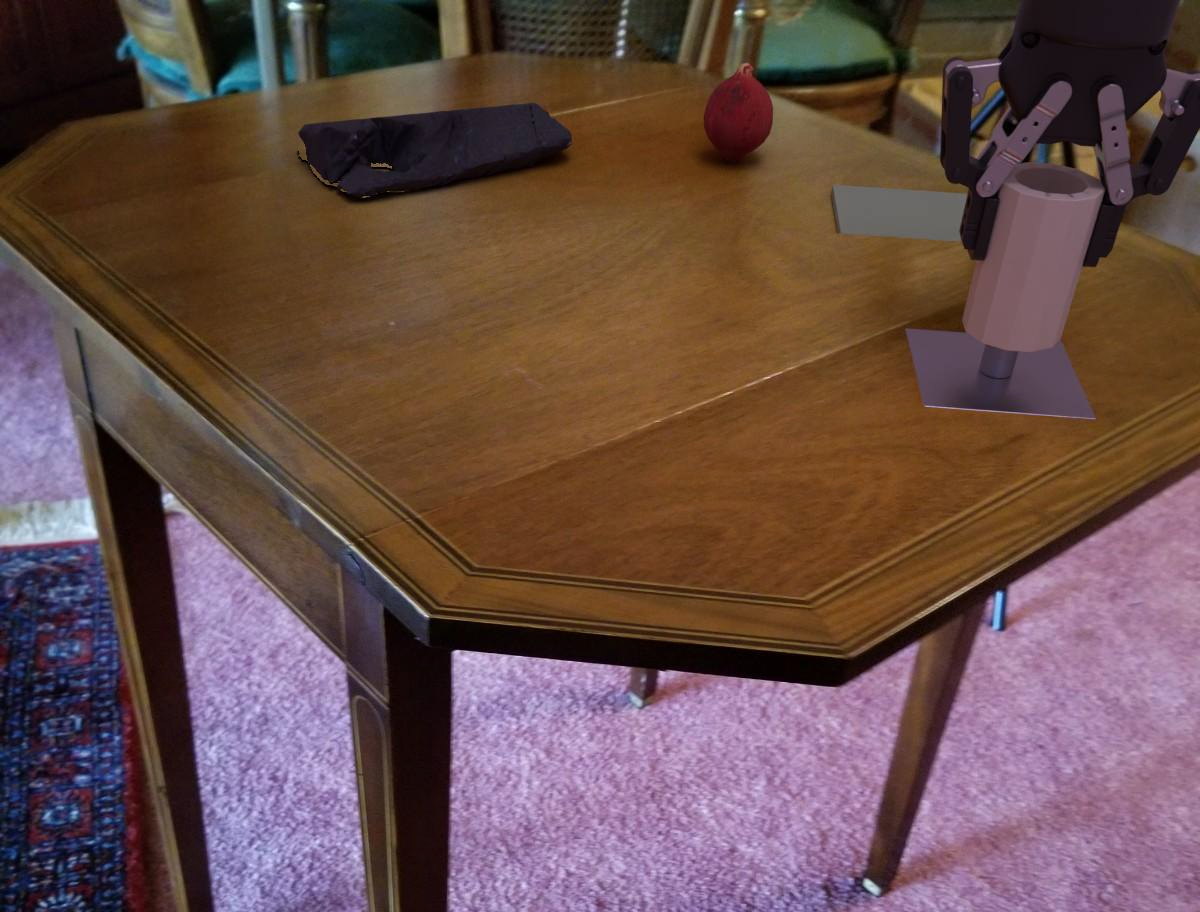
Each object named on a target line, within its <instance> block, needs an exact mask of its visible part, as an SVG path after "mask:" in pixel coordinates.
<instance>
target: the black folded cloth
mask: <svg viewBox="0 0 1200 912" xmlns="http://www.w3.org/2000/svg"><path fill="white" fill-rule="evenodd" d="M297 133H298V136H299V138H300V139H301V140H302V142H304V144H305V147H306V155H307V160H308V162H309V163H310V164H311V165H312V166H313V167H314V168H315V169H316V171H317V172H318V173H319V174H320V175H321V177H322V178H323V179H324V180H328V181H329V183H330V184H333V183H339V184H338V185H337V189H338V190H340V189H343V190H344V191H347V193H346V194H348V195H350V196H353V197H355V196H356V197H355V198H359V197H363V196H373V197H374V195H375V194H376V193H381V192H387V191H405V192H407V191H419V190H421V189H424V187H425V188H432V187H441V186H442V187H443V186H445V185H447V184H449V183H451V182H453V181H457V180H458V181H459V180H465V179H475V178H480V177H483V175H485V176H492V175H495V174H496V173H503V172H505V171H512V170H518V169H521V168H523V167H528V168H529V167H531V168H532V167H534V166H535V163H537V162H540V160H542V159H547V158H549V157H552V156H553V155H554V154H556V153H559V152H563V151H565V150H567V149H569V148H570V147H571V146H572V144H573V143H572V142H573V141H572V140H573V135H572V133H571V131H570V130H569V129H568V128H567V127H566V126H564V125H563V124H562V123H561V122H559V121H558V120H557V119H556V118H555V117H552V116H551V115H550V114H549V112H548V111H547V110H545V108H543V107H542V106H540V104H537V102H528V103H518V104H505V105H497V106H483V107H474V108H464V109H460V108H459V109H452V110H438V111H430V112H422V113H409V114H408V113H407V114H399V115H398V114H397V115H391V116H388V115H387V116H376V117H369V118H355V119H347V120H345V119H344V120H337V121H323V122H314V123H306V124H304V125H302V127H301V128H300V129H299V131H298V132H297ZM371 163H373V164H376V163H379V164H380V163H381V164H383V163H386V164H388V165H389V166H392V169H393V170H388V171H387V170H386V171H384V170H375V168H372V167H371ZM338 181H340V182H338ZM410 189H412V190H410ZM381 194H382V193H381ZM375 196H376V195H375Z"/></svg>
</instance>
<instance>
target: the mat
mask: <svg viewBox="0 0 1200 912" xmlns="http://www.w3.org/2000/svg"><path fill="white" fill-rule="evenodd" d="M830 195H831V201H832V207H833V208H832V209H833V214H834V219H835V224H836V225H835V226H836V232H837V234H844V235H846V234H847V235H857V236H859V235H860V236H872V237H873V236H875V237H885V238H886V237H887V238H901V239H902V238H903V239H916V240H931V241H945V242H947V241H948V242H961V243H962V241H961V238H960V232H959V230H960V225H961V222H962V217H963V212H964V208H965V203H966V199H967V195H968V193H963V192H951V191H950V192H948V191H934V190H932V191H931V190H921V189H919V190H918V189H903V188H892V187H891V188H888V187H874V186H859V185H846V184H845V185H844V184H832V185H831V193H830Z"/></svg>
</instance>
